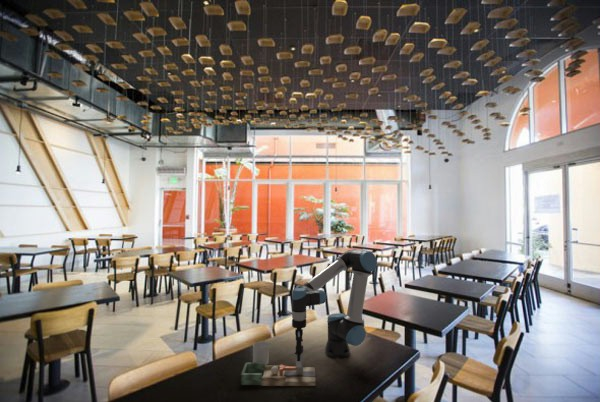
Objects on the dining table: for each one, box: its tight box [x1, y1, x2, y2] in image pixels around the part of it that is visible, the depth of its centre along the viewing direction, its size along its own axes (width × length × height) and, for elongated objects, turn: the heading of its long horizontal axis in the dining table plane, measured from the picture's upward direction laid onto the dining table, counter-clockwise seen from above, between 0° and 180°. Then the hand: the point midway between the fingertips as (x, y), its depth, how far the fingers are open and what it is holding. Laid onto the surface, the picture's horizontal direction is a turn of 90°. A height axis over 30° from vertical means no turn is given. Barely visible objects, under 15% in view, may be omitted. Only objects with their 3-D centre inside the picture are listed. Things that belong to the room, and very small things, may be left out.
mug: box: [252, 341, 270, 365], centre depth 168 cm, size 12×9×11 cm
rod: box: [279, 344, 304, 376], centre depth 152 cm, size 12×5×14 cm, turn 89°
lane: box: [240, 361, 317, 387], centre depth 152 cm, size 38×14×5 cm, turn 89°
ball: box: [271, 366, 279, 375], centre depth 152 cm, size 4×4×4 cm
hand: (298, 360), depth 152 cm, fingers open, 13 cm apart
